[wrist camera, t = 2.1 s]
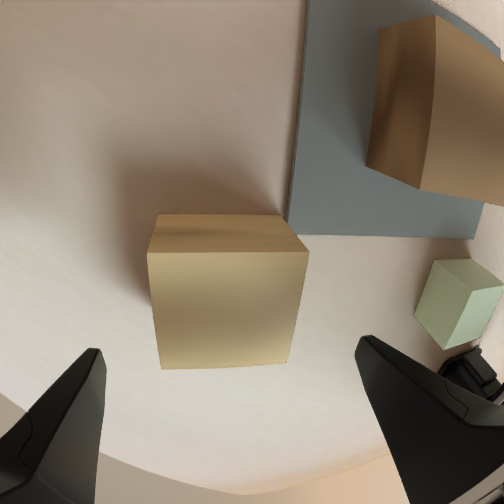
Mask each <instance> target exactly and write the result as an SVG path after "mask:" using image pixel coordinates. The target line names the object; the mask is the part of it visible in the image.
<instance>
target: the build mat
mask: <svg viewBox="0 0 504 504" xmlns="http://www.w3.org/2000/svg"><path fill="white" fill-rule="evenodd" d="M435 14H436V15H437V16H439V17H441V18H442V19H444V20H446V21H447V22H449V23H451V24H452V25H454V26H455V27H457V28H458V29H460V30H461V31H463V32H464V33H466V34H467V35H469V36H470V37H472V38H473V39H475V40H476V41H477V42H479V43H480V44H482V45H483V46H484V47H486V48H487V49H488V50H490V51H491V52H492V53H493V54H495V55H496V56H497V57H498V58H500V59H501V57H500V48H499V47H497V46H496V45H495V44H494V43H493V42H491V41H490V40H489V39H488V38H486V37H485V36H484V35H482V34H481V33H480V32H478V31H477V30H476V29H474V28H473V27H471V26H470V25H469V24H467V23H466V22H464V21H463V20H461V19H460V18H458V17H457V16H455V15H454V14H452V13H451V12H449V11H448V10H446V9H444V8H443V7H441V6H440V5H438V4H436V3H434V2H433V1H431V0H307V10H306V24H305V37H304V50H303V62H302V73H301V84H300V95H299V105H298V115H297V124H296V134H295V143H294V152H293V161H292V170H291V178H290V187H289V195H288V203H287V211H286V219H285V222H286V223H287V224H288V225H289V227H290V228H291V229H292V230H293V232H294V233H295V234H309V235H360V236H397V237H428V238H454V239H474V236H475V233H476V230H477V226H478V223H479V219H480V216H481V212H482V208H483V204H484V202H481V201H476V200H472V199H467V198H462V197H456V196H451V195H446V194H440V193H434V192H428V191H422V190H418V189H416V188H414V187H412V186H410V185H407V184H405V183H403V182H401V181H399V180H396V179H394V178H392V177H389V176H387V175H385V174H382V173H380V172H378V171H375V170H373V169H370V168H368V167H366V161H367V154H368V147H369V140H370V133H371V125H372V117H373V108H374V99H375V88H376V76H377V63H378V45H379V29H381V28H384V27H388V26H391V25H395V24H398V23H402V22H406V21H409V20H413V19H417V18H421V17H426V16H430V15H435Z"/></svg>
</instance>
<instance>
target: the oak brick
mask: <svg viewBox="0 0 504 504" xmlns="http://www.w3.org/2000/svg"><path fill="white" fill-rule="evenodd" d="M308 257H309V251H308V249H307V248H306V247H305V246H304V244H303V243H302V242H301V240H300V239H299V238H298V237H297V235H296V234H295V233H294V232H293V230H292V229H291V228H290V227H289V225H288V224H287V223H286V222H285V220H284V219H283V218H282V216H281V215H246V214H158V217H157V220H156V223H155V227H154V230H153V233H152V236H151V240H150V243H149V246H148V250H147V264H148V275H149V285H150V294H151V303H152V311H153V319H154V326H155V333H156V340H157V346H158V352H159V358H160V364H161V369H210V368H230V367H246V366H259V365H270V364H280V363H287V360H288V355H289V351H290V346H291V342H292V337H293V333H294V328H295V323H296V319H297V314H298V309H299V304H300V299H301V294H302V289H303V284H304V279H305V273H306V268H307V263H308Z"/></svg>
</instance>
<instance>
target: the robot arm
mask: <svg viewBox="0 0 504 504" xmlns="http://www.w3.org/2000/svg"><path fill="white" fill-rule="evenodd" d="M481 352H482V350H481V348H478V349H475V350H473V351H470V352H468V353H465V354H462V355H460V356H457V357H454V358H452V359H449V360H448V361H447V362H446V363H445V364H444V366H443V367H442V369H441V371H440V372H439V374H437V373H435V372H433V371H432V370H430V369H428V368H426V367H425V366H423V365H421V364H420V363H418V362H416V361H415V360H413V359H411V358H410V357H408V356H406V355H405V354H403V353H401V352H400V351H398V350H396V349H395V348H393V347H391V346H390V345H388V344H386V343H385V342H383V341H381V340H380V339H378V338H376V337H375V336H373V335H365V336H362V337H361V338H360V340H359V343H358V345H357V348H356V350H355V360H356V363H357V366H358V369H359V373H360V376H361V379H362V382H363V386H364V389H365V391H366V394H367V396H368V399H369V401H370V403H371V406H372V408H373V411H374V413H375V415H376V418H377V420H378V422H379V425H380V427H381V430H382V432H383V435H384V437H385V439H386V442H387V444H388V447H389V449H390V452H391V454H392V457H393V460H394V462H395V465H396V467H397V470H398V472H399V475H400V477H401V479H402V480H401V481H402V483H403V486H404V488H405V491H406V494H407V497H408V499H409V502H410V504H449V503H450V504H504V401H503V400H504V383H503V384H502V385H501V384H500V382H499V381H498V380H497V379H496V377H497V373H496V372H495V371H494V370H493V369H492V368H491V366H490V365H489V364H488V363H487V362H486V361H485V360H484V358H483V357H482V356H481V355H480V354H481ZM106 373H107V369H106V364H105V361H104V358H103V355H102V352H101V350H100V349H98V348H88V349H87V350H86V351H85V352H84V353H83V354H82V355H81V356H80V357H79V358H78V359H77V360H76V361H75V362H74V363H73V364H72V365H71V366H70V367H69V368H68V369H67V370H66V371H65V372H64V373H63V374H62V375H61V376H60V377H59V378H58V379H57V380H56V381H55V382H54V383H53V384H52V385H51V387H50V388H49V389H48V390H47V391H46V392H45V393H44V394H43V395H42V396H41V397H40V398H39V399H38V400H37V401H36V402H35V404H34V405H33V406H32V407H31V408H30V409H29V410H28V412H26V413H25V414H24V415H23V416H22V418H21V419H20V420H19V421H18V422H17V423H16V424H15V425H14V426H13V427H12V428H11V429H10V430H9V431H8V432H7V433H6V434H5V435H3V436H2V437H1V438H0V504H94V500H95V484H96V472H97V461H98V453H99V445H100V437H101V430H102V423H103V416H104V406H105V387H106ZM502 401H503V402H502ZM501 402H502V403H501ZM500 403H501V404H500ZM499 404H500V405H499Z"/></svg>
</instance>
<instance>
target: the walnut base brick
mask: <svg viewBox="0 0 504 504" xmlns="http://www.w3.org/2000/svg"><path fill="white" fill-rule="evenodd" d="M366 167H368V168H370V169H373V170H375V171H378V172H380V173H382V174H385V175H387V176H389V177H392V178H394V179H396V180H399V181H401V182H403V183H405V184H407V185H410V186H412V187H414V188H416V189H418V190H422V191H428V192H434V193H440V194H446V195H451V196H456V197H462V198H467V199H472V200H476V201H481V202H486V203H490V204H495V205H499V206H503V207H504V62H503V61H502V60H501V59H500V58H498V57H497V56H496V55H495V54H493V53H492V52H491V51H490V50H488V49H487V48H486V47H484V46H483V45H482V44H480V43H479V42H477V41H476V40H475V39H473V38H472V37H470V36H469V35H467V34H466V33H464V32H463V31H461V30H460V29H458V28H457V27H455V26H454V25H452V24H451V23H449V22H447V21H446V20H444V19H442V18H441V17H439V16H437V15H436V14H435V15H430V16H426V17H421V18H417V19H413V20H409V21H406V22H402V23H398V24H395V25H391V26H388V27H384V28H381V29H379V45H378V63H377V76H376V88H375V99H374V108H373V117H372V125H371V133H370V140H369V147H368V154H367V161H366Z"/></svg>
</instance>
